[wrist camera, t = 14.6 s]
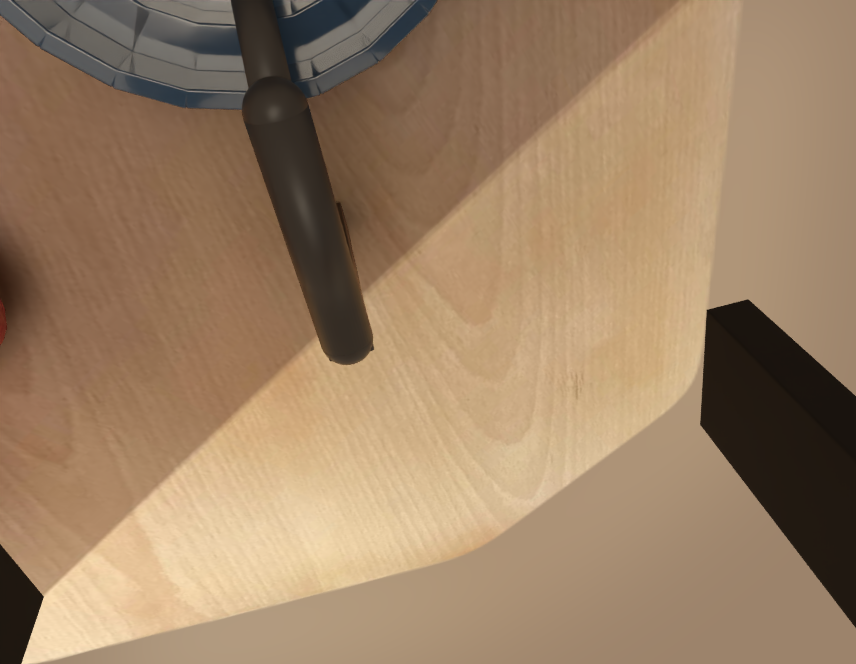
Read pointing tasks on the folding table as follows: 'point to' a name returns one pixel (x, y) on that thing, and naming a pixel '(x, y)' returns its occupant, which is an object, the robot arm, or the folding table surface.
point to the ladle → (300, 187)
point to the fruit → (2, 322)
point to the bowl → (211, 42)
